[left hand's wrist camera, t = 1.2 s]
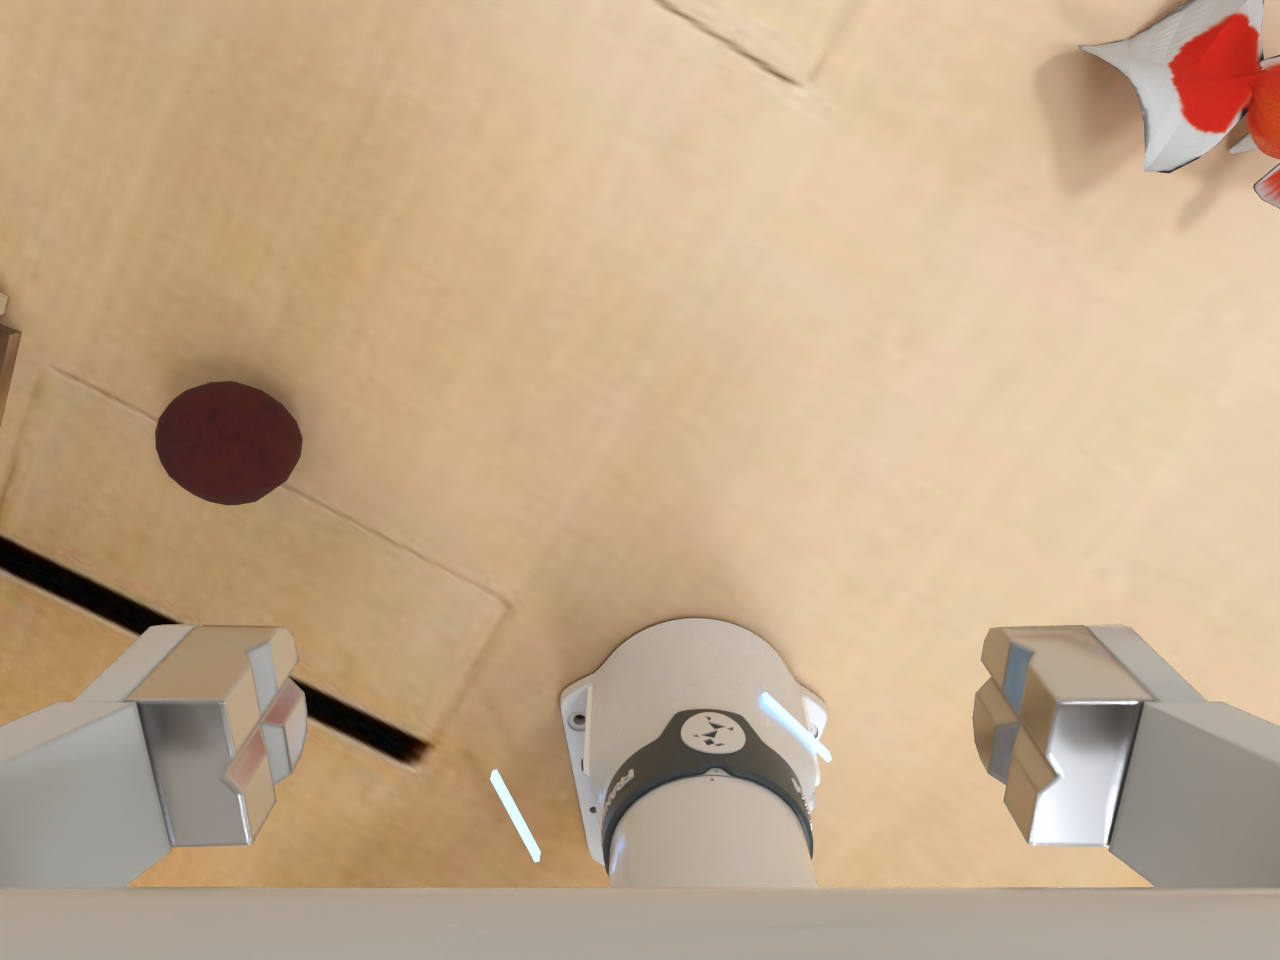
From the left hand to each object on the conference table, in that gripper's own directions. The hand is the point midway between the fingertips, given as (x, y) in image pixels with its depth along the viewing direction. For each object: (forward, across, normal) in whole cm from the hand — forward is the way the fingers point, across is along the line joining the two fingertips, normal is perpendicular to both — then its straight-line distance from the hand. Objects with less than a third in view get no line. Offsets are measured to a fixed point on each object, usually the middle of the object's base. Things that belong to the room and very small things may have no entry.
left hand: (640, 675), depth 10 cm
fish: (+44, +30, +8) cm, 54 cm away
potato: (+44, -24, -10) cm, 51 cm away
